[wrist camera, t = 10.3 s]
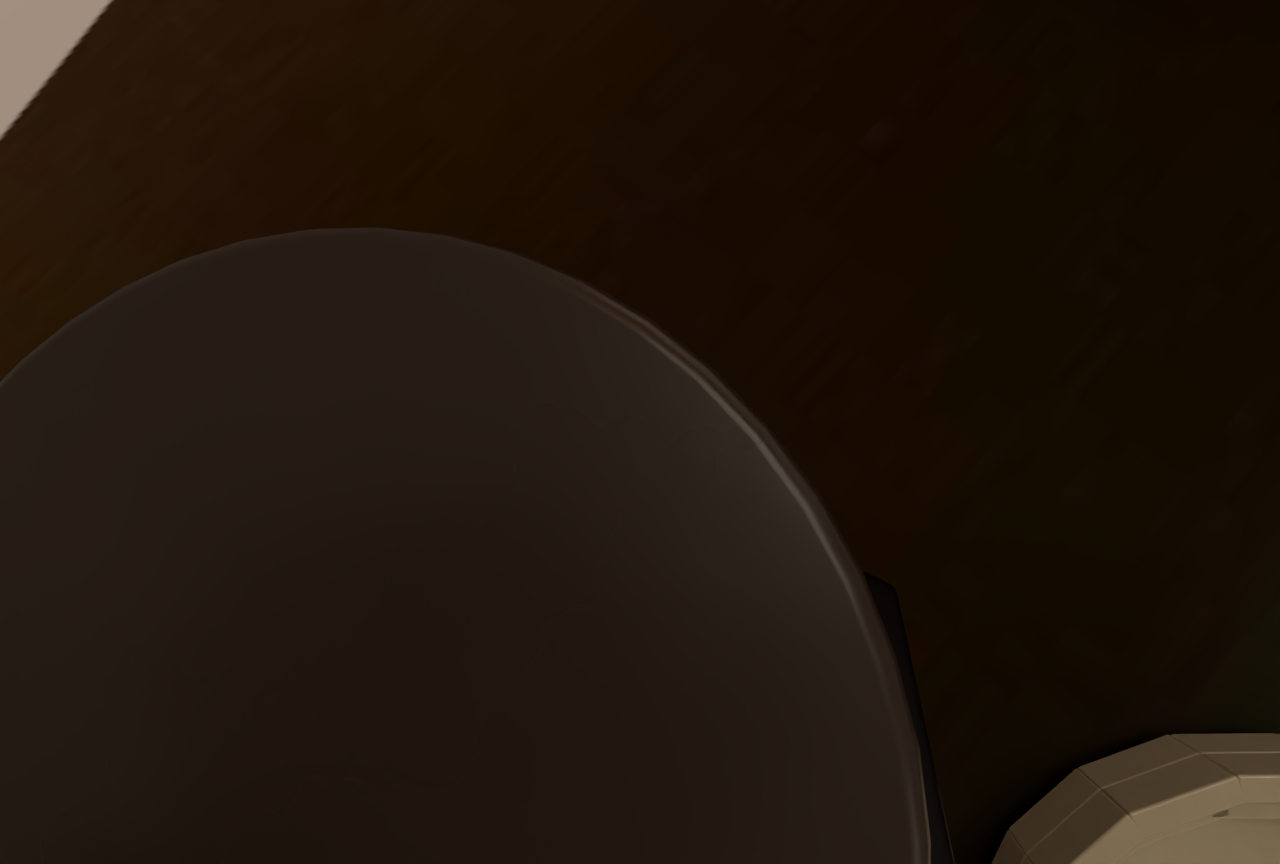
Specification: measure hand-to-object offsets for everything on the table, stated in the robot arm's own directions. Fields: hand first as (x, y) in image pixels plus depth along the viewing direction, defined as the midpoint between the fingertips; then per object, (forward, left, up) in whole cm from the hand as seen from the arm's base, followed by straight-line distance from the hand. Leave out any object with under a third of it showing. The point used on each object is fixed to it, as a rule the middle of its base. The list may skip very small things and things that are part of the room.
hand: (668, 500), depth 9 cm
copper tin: (0, -1, -6) cm, 7 cm away
